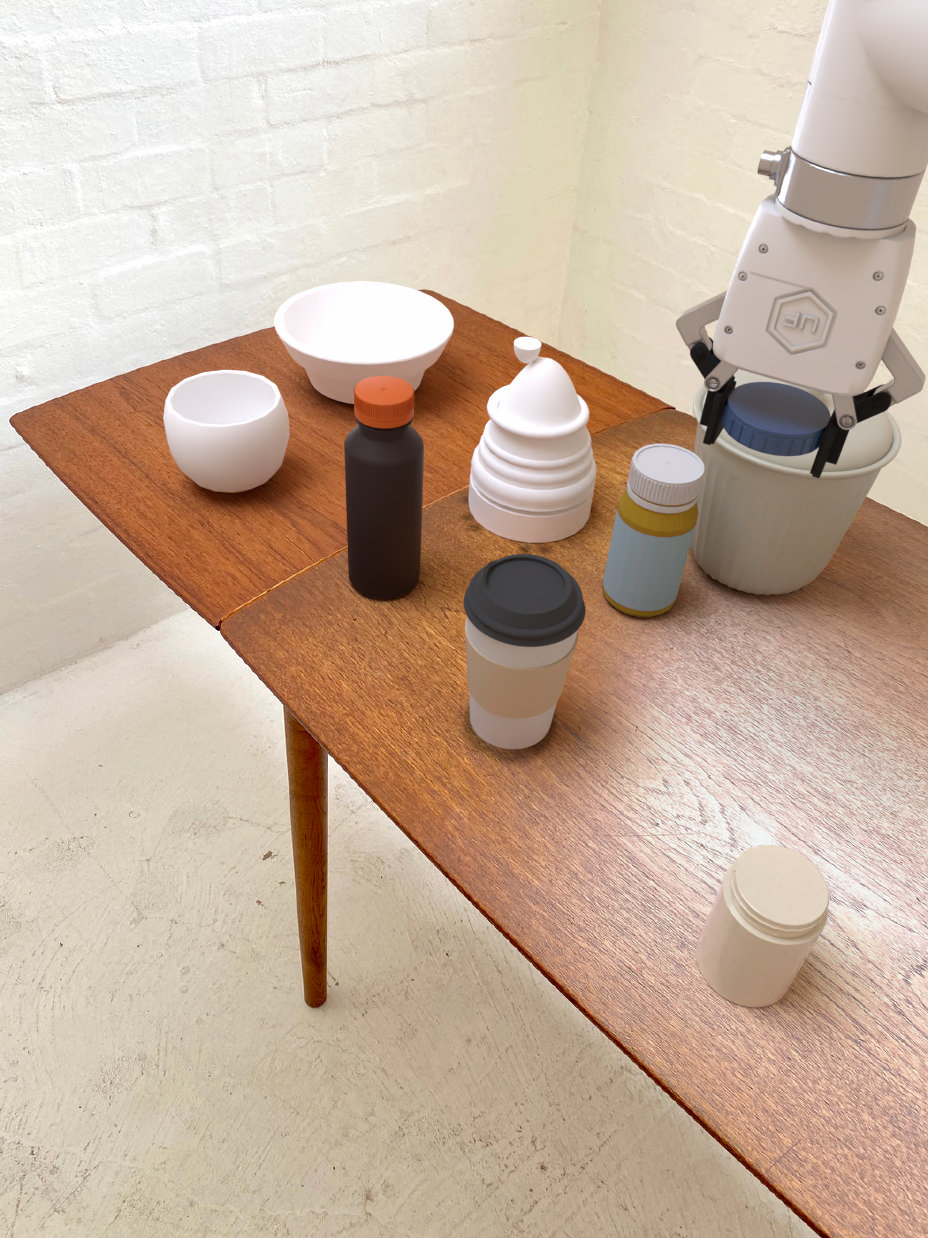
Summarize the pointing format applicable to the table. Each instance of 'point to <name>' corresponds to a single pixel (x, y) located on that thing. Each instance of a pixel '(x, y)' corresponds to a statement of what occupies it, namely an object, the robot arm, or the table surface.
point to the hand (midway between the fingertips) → (765, 449)
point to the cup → (227, 429)
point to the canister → (781, 502)
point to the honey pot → (534, 455)
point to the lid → (775, 418)
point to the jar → (762, 925)
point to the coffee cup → (519, 646)
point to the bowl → (362, 334)
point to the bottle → (653, 530)
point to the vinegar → (384, 489)
